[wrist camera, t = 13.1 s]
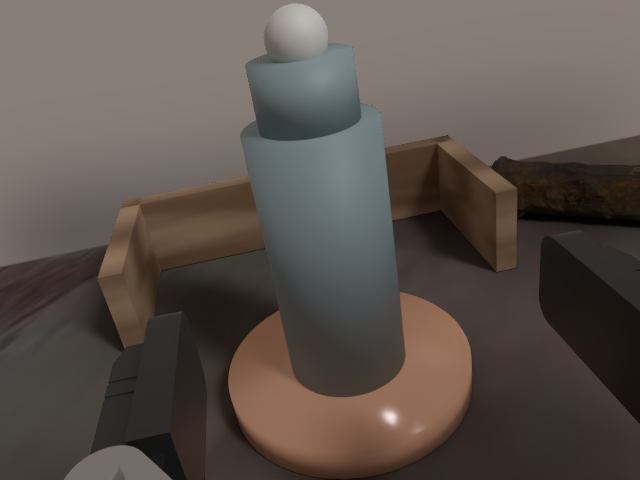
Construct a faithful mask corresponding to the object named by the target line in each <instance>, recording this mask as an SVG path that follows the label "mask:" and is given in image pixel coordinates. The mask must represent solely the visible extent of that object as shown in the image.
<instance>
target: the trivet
mask: <svg viewBox="0 0 640 480" xmlns="http://www.w3.org/2000/svg"><path fill="white" fill-rule="evenodd" d="M399 293H400V303H401V313H402V322H403V332H404V342H405V351H406V357H405V362H404V365H403V367H402V369H401V370H400V372H399V373H398V374H397V376H396V377H395V378H394V379H393V380H391V381H390V382H389V383H387V384H386V385H384V386H383V387H381V388H379V389H377V390H375V391H372V392H370V393H367V394H363V395H359V396H354V397H329V396H324V395H320V394H317V393H315V392H312V391H310V390H308V389H307V388H305V387H304V386H303V385H302V384H300V383H299V381H298V380H297V379H296V377H295V375H294V373H293V370H292V365H291V361H290V356H289V352H288V347H287V343H286V339H285V334H284V330H283V325H282V321H281V316H280V312H279V311H277V312H275V313H274V314H272V315H271V316H269V317H268V318H266V319H265V320H264V321H262V322H261V323H260V324H259V325H257V326H256V327H255V328H254V329H253V330H252V331H251V332H250V333H249V334H248V335H247V337H246V338H245V339H244V340H243V341H242V343H241V344H240V346H239V347H238V349H237V351H236V352H235V355H234V357H233V359H232V362H231V365H230V370H229V377H228V386H229V392H230V397H231V400H232V403H233V407H234V410H235V413H236V417H237V420H238V423H239V426H240V428H241V431H242V432H243V434H244V436H245V437H246V439H247V440H248V442H249V443H250V444H251V445H252V446H253V447H254V448H255V450H257V451H258V452H259V453H260V454H261V455H263V456H264V457H265V458H266V459H268V460H270V461H271V462H273V463H275V464H277V465H278V466H280V467H283V468H285V469H288V470H290V471H292V472H296V473H299V474H303V475H307V476H311V477H318V478H325V479H356V478H366V477H371V476H376V475H381V474H385V473H388V472H391V471H394V470H397V469H400V468H403V467H405V466H407V465H409V464H412V463H414V462H416V461H418V460H420V459H421V458H423V457H425V456H426V455H428V454H430V453H431V452H433V451H434V450H435V449H436V448H438V447H439V446H440V445H442V444H443V443H444V442H445V441H446V440H447V439H448V438H449V437H450V436H451V435H452V434H453V433H454V432H455V430H456V429H457V427H458V426H459V424H460V423H461V422H462V420H463V418H464V416H465V414H466V412H467V410H468V407H469V404H470V400H471V396H472V359H471V350H470V346H469V343H468V340H467V337H466V335H465V334H464V332H463V330H462V328H461V327H460V326H459V325H458V323H457V322H456V321H455V320H454V319H453V318H452V317H451V316H450V315H449V314H448V313H446V312H445V311H444V310H442V309H441V308H439V307H438V306H436V305H434V304H432V303H430V302H428V301H426V300H424V299H421V298H419V297H416V296H413V295H410V294H406V293H402V292H399Z"/></svg>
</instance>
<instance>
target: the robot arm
mask: <svg viewBox="0 0 640 480" xmlns="http://www.w3.org/2000/svg"><path fill="white" fill-rule="evenodd" d="M539 301H540V306H541V309H542V312H543V315H544V317H545V319H546V320H547V322H548V323H549V324H550V325H551V326H552V327H553V329H554V330H555V331H556V332H557V333H558V334H559V335H560V336H561V337H562V338H563V340H564V341H565V342H566V343H567V344H568V345H569V346H570V347H571V348H572V350H573V351H574V352H575V353H576V354H577V355H578V356H579V357H580V358H581V359H582V361H583V362H584V363H585V364H586V365H587V366H588V367H589V368H590V369H591V371H592V372H593V373H594V374H595V375H596V376H597V377H598V378H599V379H600V381H601V382H602V383H603V384H604V385H605V386H606V387H607V388H608V389H609V390H610V392H611V393H612V394H613V395H614V396H615V397H616V398H617V399H618V400H619V402H620V403H621V404H622V405H623V406H624V407H625V408H626V409H627V410H628V411H629V413H630V414H631V415H632V416H633V417H634V418H635V419H636V420H637V421H638V423H639V424H640V261H638V260H637V259H636V258H634V257H633V256H632V255H629V254H626V253H624V252H621V251H618V250H616V249H613V248H611V247H608V246H607V247H603V246H602V245H600V244H599V243H598V242H596V241H595V240H594V239H592V238H591V237H590V236H588V235H587V234H586V233H584V232H583V231H580V230H576V231H571V232H566V233H561V234H557V235H552V236H547V237H545V238H544V239H543V241H542V244H541V259H540V283H539ZM206 401H207V394H206V383H205V377H204V372H203V368H202V365H201V361H200V358H199V355H198V351H197V348H196V345H195V341H194V338H193V335H192V331H191V328H190V325H189V321H188V318H187V316H186V313H185V312H184V311H180V312H175V313H170V314H165V315H160V316H156V317H151V318H148V321H147V326H146V331H145V336H144V342H143V343H140V344H136V345H131V346H127V347H126V348H125V350H124V351H123V352H122V353H121V355H120V356H119V357H118V359H117V360H116V361H115V362H114V364H113V367H112V371H111V374H110V378H109V386H107V390H106V394H105V401H104V402H103V406H102V410H101V414H100V418H99V422H98V426H97V430H96V434H95V437H94V441H93V445H92V449H91V453H90V455H89V456H88V457H86V458H84V459H83V460H82V461H81V462H79V463H78V464H77V465H76V466H75V467H74V468H73V469H72V470H71V471H70V472H69V473H68V475H67V476H66V478H65V479H64V480H205V444H206Z"/></svg>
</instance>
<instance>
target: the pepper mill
mask: <svg viewBox="0 0 640 480" xmlns="http://www.w3.org/2000/svg"><path fill="white" fill-rule="evenodd" d="M264 32H265V33H264V42H265V47H266V50H267V53H268V54H266V55H263V56H260V57H257V58H255V59H253V60H251V61H249V62H248V63H246V65H245V67H246V72H247V77H248V82H249V86H250V91H251V96H252V101H253V106H254V111H255V115H256V121H254V122H252V123H251V124H249V125H248V126H246V127H245V128H244V129H243V130H242V132H241V134H240V138H241V142H242V147H243V151H244V156H245V160H246V164H247V169H248V174H249V178H250V183H251V187H252V191H253V196H254V200H255V205H256V209H257V214H258V218H259V223H260V227H261V232H262V236H263V240H264V245H265V249H266V254H267V258H268V263H269V267H270V272H271V276H272V281H273V285H274V290H275V294H276V298H277V303H278V307H279V312H280V316H281V321H282V325H283V330H284V334H285V339H286V343H287V347H288V352H289V356H290V361H291V365H292V370H293V373H294V375H295V377H296V379H297V380H298V381H299V383H300V384H302V385H303V386H304V387H305V388H307V389H308V390H310V391H312V392H315V393H317V394H320V395H324V396H329V397H354V396H359V395H363V394H367V393H370V392H372V391H375V390H377V389H379V388H381V387H383V386H384V385H386V384H387V383H389V382H390V381H391V380H393V379H394V378H395V377H396V376H397V374H398V373H399V372H400V370H401V369H402V367H403V365H404V362H405V357H406V351H405V342H404V332H403V322H402V313H401V303H400V293H399V284H398V274H397V264H396V255H395V245H394V235H393V226H392V216H391V206H390V197H389V187H388V177H387V168H386V158H385V148H384V139H383V129H382V120H381V112H380V111H379V109H377V108H376V107H374V106H372V105H368V104H364V103H360V99H359V91H358V83H357V74H356V65H355V58H354V49H353V46H351V45H347V44H328V31H327V27H326V24H325V22H324V20H323V19H322V17H321V16H320V15H319V14H318V13H317V12H316V11H315V10H314V9H312V8H311V7H308V6H306V5H303V4H289V5H286V6H283V7H281V8H279V9H278V10H277V11H275V13H273V14H272V16H271V17H270V19H269V20H268V22H267V25H266V27H265V31H264Z"/></svg>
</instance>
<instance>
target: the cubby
mask: <svg viewBox="0 0 640 480" xmlns="http://www.w3.org/2000/svg"><path fill="white" fill-rule="evenodd" d="M385 158H386V168H387V177H388V187H389V197H390V206H391V216H392V221H393V220H398V219H403V218H407V217H412V216H417V215H421V214H426V213H431V212H435V211H440V210H441V211H442V212H443V213H444V214H445V216H446V217H447V218H448V219H449V220H450V221H451V222H452V223H453V224H454V226H455V227H456V228H457V229H458V230H459V231H460V232H461V233H462V234H463V235H464V237H465V238H466V239H467V240H468V241H469V242H470V243H471V244H472V245H473V247H474V248H475V249H476V250H477V251H478V252H479V253H480V254H481V255H482V256H483V258H484V259H485V260H486V261H487V262H488V263H489V264H490V265H491V266H492V268H493V269H494V270H495V271H496V272H499V271H504V270H508V269H512V268H516V251H517V188H516V187H515V186H513V185H512V184H511V183H510V182H508V181H507V180H506V179H504V178H503V177H502V176H500V175H499V174H498V173H496V172H495V171H494V170H493V169H491V168H490V167H489V166H487V165H486V164H485V163H483V162H482V161H481V160H479V159H478V158H477V157H475V156H474V155H473V154H472V153H470V152H469V151H468V150H466V149H465V148H464V147H462V146H461V145H460V144H458V143H457V142H456V141H454V140H453V139H452V138H450V137H449V136H448V135H446V136H442V137H437V138H431V139H427V140H422V141H417V142H412V143H407V144H402V145H397V146H392V147H387V148H385ZM263 248H265V245H264V240H263V236H262V232H261V227H260V223H259V218H258V214H257V209H256V205H255V200H254V196H253V191H252V187H251V183H250V178H249V176H245V177H240V178H235V179H230V180H225V181H220V182H215V183H211V184H206V185H201V186H196V187H191V188H187V189H181V190H177V191H171V192H167V193H162V194H157V195H152V196H147V197H142V198H137V199H132V200H127V201H123V204H122V207H121V210H120V213H119V216H118V219H117V221H116V224H115V228H114V230H113V233H112V236H111V240H110V242H109V245H108V248H107V251H106V254H105V257H104V260H103V263H102V266H101V269H100V272H99V275H98V278H97V279H98V282H99V284H100V287H101V289H102V292H103V295H104V297H105V300H106V302H107V305H108V307H109V310H110V312H111V315H112V318H113V320H114V323H115V325H116V328H117V330H118V333H119V336H120V338H121V341H122V343H123V346H124V348H126V347H127V346H131V345H136V344H140V343H143V342H144V336H145V331H146V326H147V321H148V318H151V317H154V316H155V309H156V302H157V295H158V288H159V281H160V274H161V270H166V269H170V268H175V267H180V266H184V265H189V264H194V263H198V262H203V261H208V260H212V259H217V258H222V257H226V256H231V255H235V254H240V253H245V252H249V251H254V250H259V249H263Z"/></svg>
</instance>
